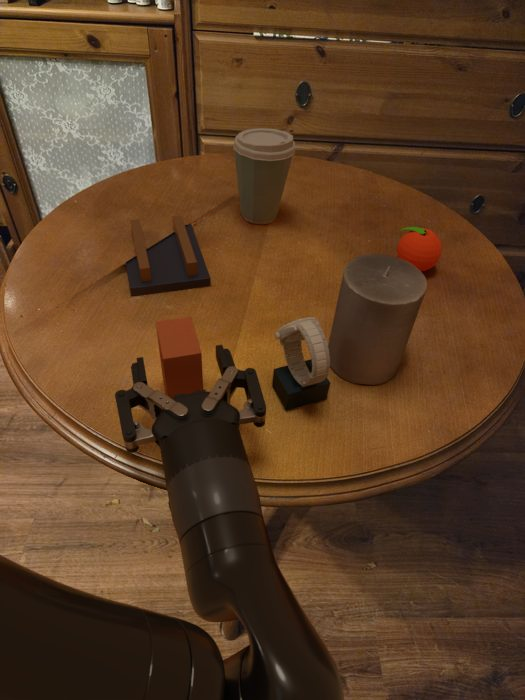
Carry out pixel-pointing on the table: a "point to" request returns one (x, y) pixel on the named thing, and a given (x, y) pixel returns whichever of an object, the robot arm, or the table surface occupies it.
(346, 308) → the pillar candle
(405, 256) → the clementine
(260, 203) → the disposable coffee cup
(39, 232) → the table surface
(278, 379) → the watch
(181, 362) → the red rectangular block
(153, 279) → the base
